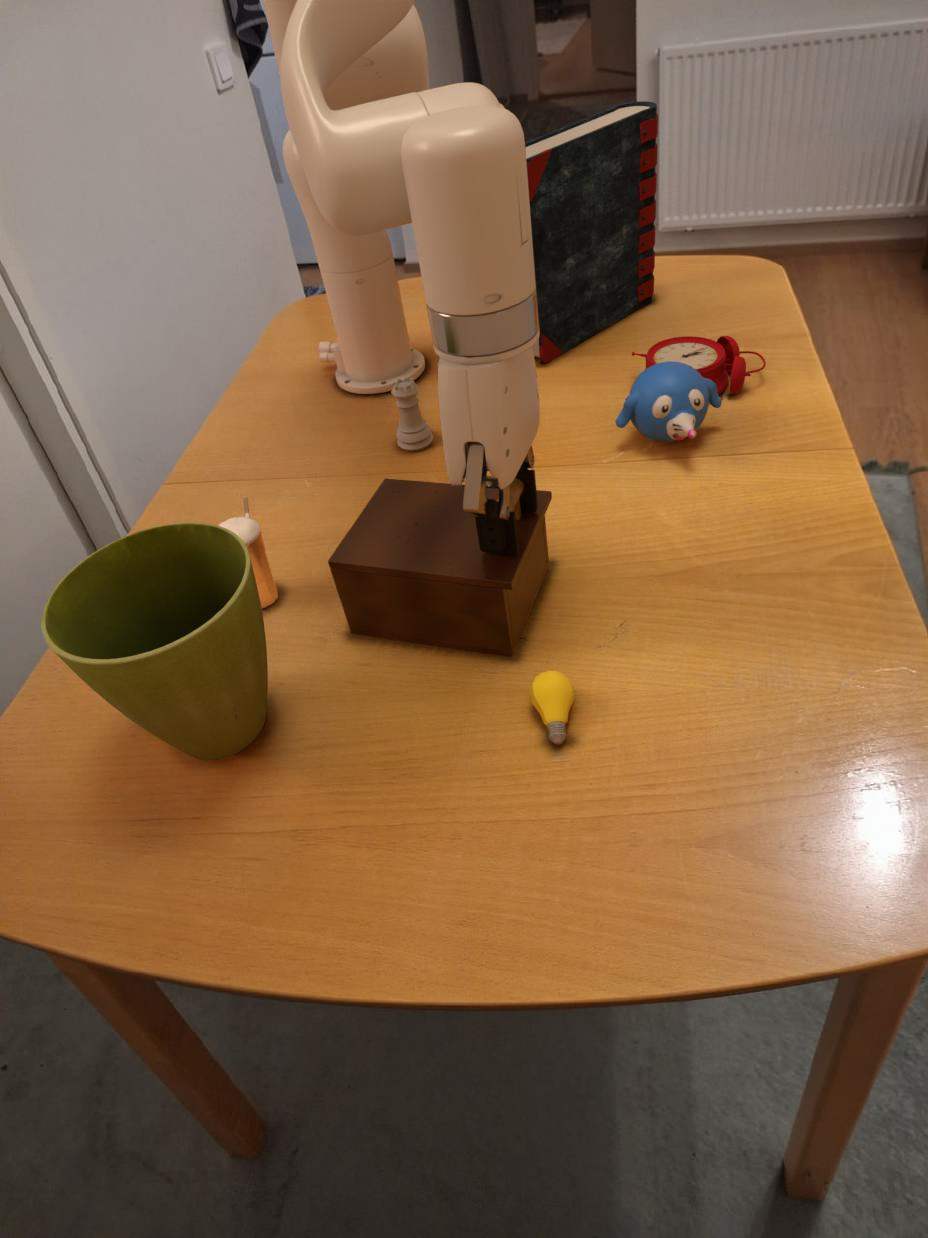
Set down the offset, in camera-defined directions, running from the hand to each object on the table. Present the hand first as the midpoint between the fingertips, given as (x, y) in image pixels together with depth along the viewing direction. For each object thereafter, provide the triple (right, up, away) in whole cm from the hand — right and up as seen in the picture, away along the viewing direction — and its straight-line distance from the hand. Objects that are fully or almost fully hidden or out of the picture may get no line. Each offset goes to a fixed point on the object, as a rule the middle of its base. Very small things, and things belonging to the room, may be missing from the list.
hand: (509, 528), depth 68 cm
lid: (-6, 0, +3) cm, 6 cm away
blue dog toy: (+19, +12, +22) cm, 32 cm away
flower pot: (-24, -17, 0) cm, 30 cm away
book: (+14, +34, +47) cm, 60 cm away
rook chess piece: (-10, +14, +30) cm, 34 cm away
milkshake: (-24, -5, +13) cm, 27 cm away
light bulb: (+3, -16, -4) cm, 16 cm away
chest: (-5, -6, +8) cm, 11 cm away
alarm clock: (+25, +21, +31) cm, 45 cm away
